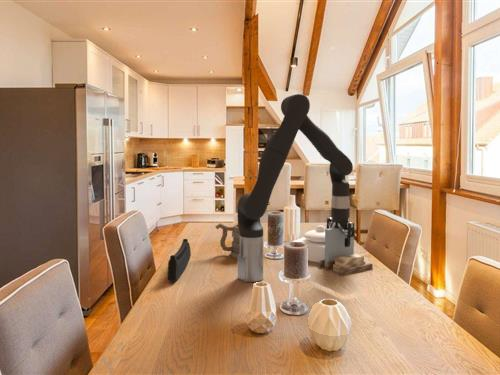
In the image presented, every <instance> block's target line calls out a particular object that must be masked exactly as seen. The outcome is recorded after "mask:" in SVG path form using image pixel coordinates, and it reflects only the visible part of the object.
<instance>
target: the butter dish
mask: <svg viewBox="0 0 500 375" xmlns="http://www.w3.org/2000/svg"><path fill="white" fill-rule="evenodd" d="M326 228H327V227H325V226H324V225H321V224H319V225H317V226H316V227H315V229H312V230H309V231H306V232H305V233H304V234H303V237H300V238H299V239H295V240H293V241H292V242H303V243H305V244H306V245H307V248H308V260H307V261H311V262H316V263H319V264H320V260H321V259H325V229H326ZM292 242H291V243H292Z"/></svg>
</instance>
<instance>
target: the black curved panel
mask: <svg viewBox="0 0 500 375" xmlns="http://www.w3.org/2000/svg"><path fill="white" fill-rule="evenodd" d="M190 259H191V246H190V243H189V241H188V239H187V238H183V239H182V242H181V245H180V247H179V248H178V250H177V251H176V252H175V253H174V254H171V255H170V257H169V260H168V264H167V281H168V282H176V281H177V280H178V279H179V278H180V277H181V276H182V275H183V274H184V272H185V271H186V268H187V266H188V264H189V261H190Z"/></svg>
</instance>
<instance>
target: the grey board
mask: <svg viewBox="0 0 500 375" xmlns="http://www.w3.org/2000/svg"><path fill="white" fill-rule="evenodd" d="M329 228H330V227H329ZM346 234H347V233H346ZM351 234H352V232H351ZM347 235H348V234H347ZM354 247H355V236H354V237H351V238H350V246H349V247H345V236H344V234H343V233H342V232H341V231H340V229H339V228H330V229H325V266H324V267H325V268H326V262H330V261H335V258H338V257H343V256H348V255H353V254H355V251H354V249H355V248H354Z"/></svg>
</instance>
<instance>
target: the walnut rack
mask: <svg viewBox="0 0 500 375" xmlns="http://www.w3.org/2000/svg"><path fill="white" fill-rule="evenodd" d="M333 264H335V261H330V262H326V268H325V267H324V266H325V259H321V260H320V263H319V265H318V266H317V268H320V269H322V270H325V271H327V272H330V273H333V274H334V275H338V276H342V277H343V276H345V275H350V274H355V273H359V272H363V271H364V272H365V271H368V270H372V269H374V268H373V263H372V262H370V263H365V265H360V266H355V267H351V268H346V269H341V270H340V273H338V272H336V271H333Z"/></svg>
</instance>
